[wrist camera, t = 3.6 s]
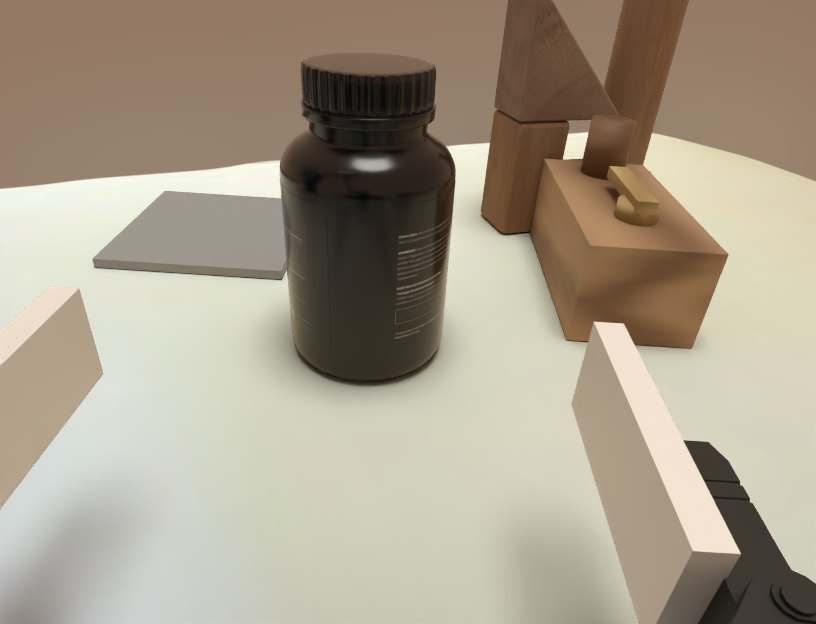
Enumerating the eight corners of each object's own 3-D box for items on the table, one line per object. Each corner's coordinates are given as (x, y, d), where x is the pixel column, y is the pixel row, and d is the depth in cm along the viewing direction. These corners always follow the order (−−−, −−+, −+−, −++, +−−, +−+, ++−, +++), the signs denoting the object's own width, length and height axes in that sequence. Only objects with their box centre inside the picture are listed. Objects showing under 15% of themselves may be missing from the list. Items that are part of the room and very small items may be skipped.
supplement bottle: (417, 295, 31) (436, 47, 24) (460, 376, 25) (500, 82, 19) (284, 307, 29) (266, 43, 22) (298, 397, 23) (280, 81, 17)
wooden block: (478, 214, 40) (520, -105, 31) (609, 203, 44) (684, -88, 34) (502, 236, 37) (556, -108, 28) (640, 223, 41) (731, -90, 31)
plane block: (566, 340, 28) (606, 178, 24) (530, 234, 38) (553, 107, 34) (691, 348, 28) (754, 188, 24) (622, 240, 38) (657, 114, 34)
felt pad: (94, 267, 31) (92, 258, 31) (166, 198, 40) (164, 191, 39) (281, 279, 31) (281, 271, 31) (313, 207, 40) (312, 200, 39)
